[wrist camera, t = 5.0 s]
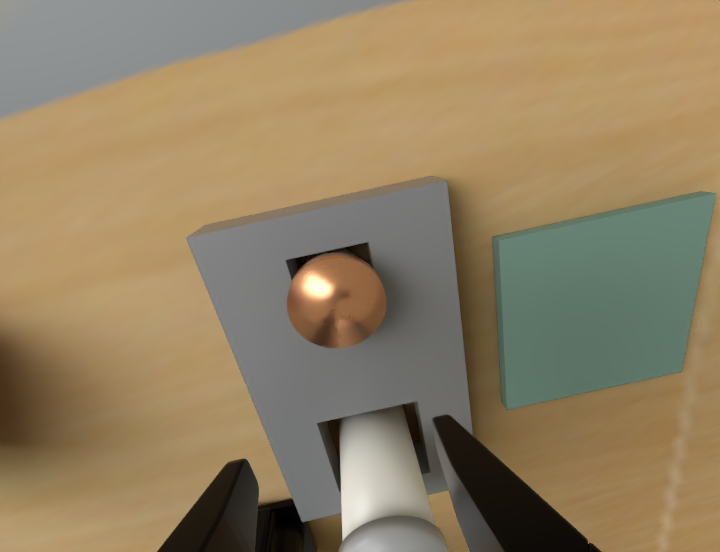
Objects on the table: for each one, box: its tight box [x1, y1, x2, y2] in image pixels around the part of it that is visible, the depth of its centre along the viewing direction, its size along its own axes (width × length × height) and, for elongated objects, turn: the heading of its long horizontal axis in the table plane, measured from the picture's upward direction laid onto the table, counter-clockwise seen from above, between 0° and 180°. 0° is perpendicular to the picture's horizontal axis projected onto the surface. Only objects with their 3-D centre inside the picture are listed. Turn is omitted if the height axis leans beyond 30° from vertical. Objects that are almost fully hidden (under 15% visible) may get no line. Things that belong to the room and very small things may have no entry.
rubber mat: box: [492, 191, 716, 410], centre depth 21 cm, size 12×12×1 cm
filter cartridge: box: [338, 405, 448, 552], centre depth 19 cm, size 5×5×9 cm
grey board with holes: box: [186, 176, 473, 522], centre depth 20 cm, size 20×12×2 cm, turn 11°
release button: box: [287, 248, 386, 348], centre depth 17 cm, size 4×4×4 cm
